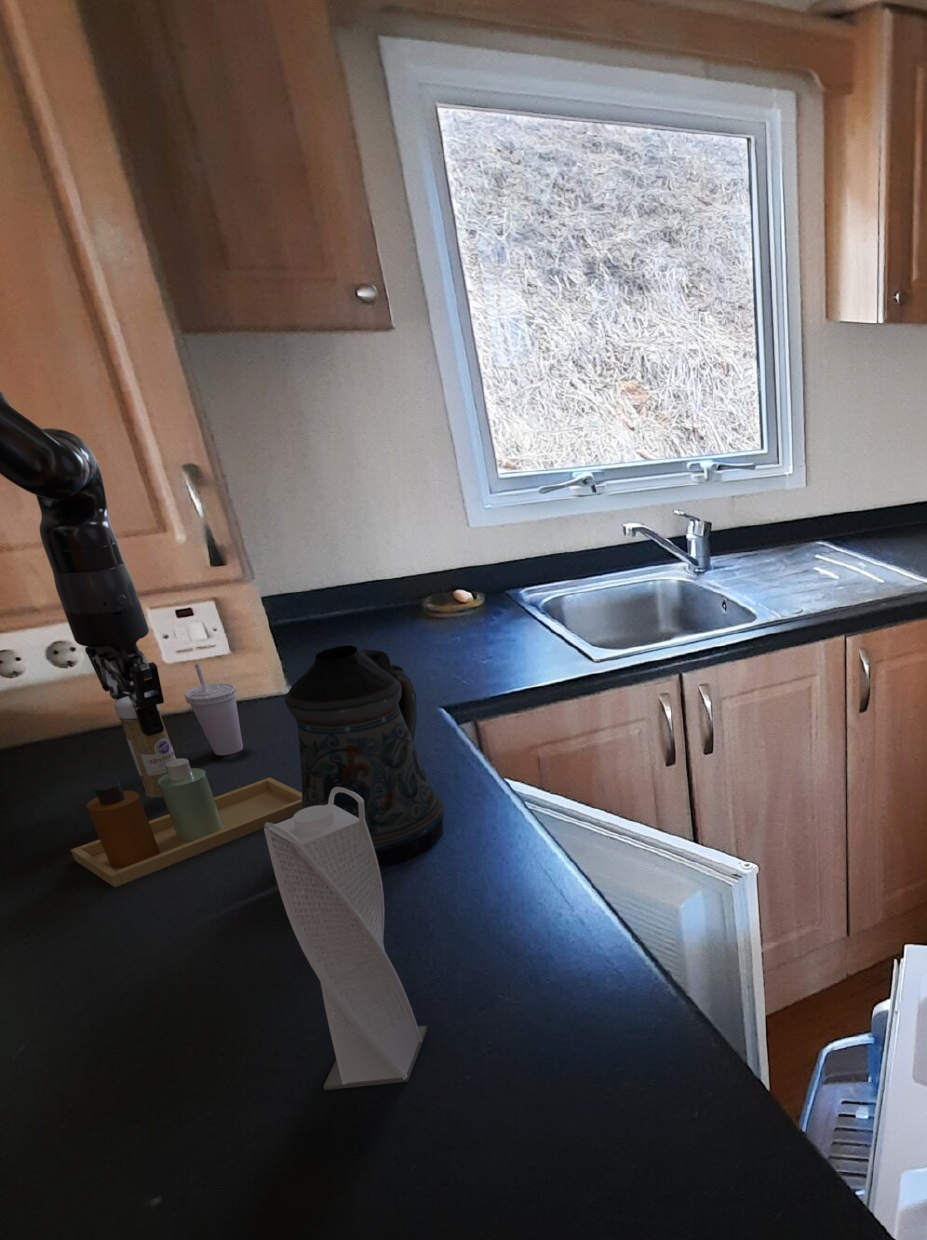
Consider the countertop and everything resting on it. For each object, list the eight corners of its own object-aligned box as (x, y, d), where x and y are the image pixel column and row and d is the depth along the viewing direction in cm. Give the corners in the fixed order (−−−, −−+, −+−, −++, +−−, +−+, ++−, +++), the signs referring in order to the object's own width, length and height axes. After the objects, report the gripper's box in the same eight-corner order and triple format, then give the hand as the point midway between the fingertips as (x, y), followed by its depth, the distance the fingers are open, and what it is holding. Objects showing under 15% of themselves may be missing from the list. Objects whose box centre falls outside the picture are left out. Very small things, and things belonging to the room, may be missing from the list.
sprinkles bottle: (173, 799, 130) (141, 705, 124) (137, 799, 130) (104, 705, 124) (193, 783, 134) (164, 692, 128) (159, 783, 134) (127, 692, 128)
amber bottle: (121, 872, 116) (91, 799, 112) (102, 860, 119) (72, 787, 114) (167, 854, 120) (140, 782, 116) (148, 843, 123) (121, 772, 118)
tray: (116, 891, 114) (110, 876, 113) (76, 864, 119) (70, 849, 118) (315, 811, 132) (311, 797, 131) (273, 790, 137) (269, 777, 136)
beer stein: (296, 884, 116) (236, 688, 105) (317, 810, 132) (266, 633, 121) (447, 859, 121) (405, 670, 110) (449, 791, 138) (413, 620, 126)
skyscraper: (443, 1027, 94) (379, 768, 82) (421, 1088, 87) (348, 815, 74) (349, 1036, 93) (270, 774, 80) (320, 1099, 86) (227, 823, 73)
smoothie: (196, 751, 147) (166, 664, 141) (241, 737, 152) (214, 652, 146) (216, 763, 144) (186, 674, 138) (261, 748, 149) (235, 661, 143)
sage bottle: (189, 846, 122) (163, 774, 118) (169, 834, 124) (144, 764, 120) (231, 829, 126) (208, 760, 121) (211, 819, 128) (188, 750, 124)
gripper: (39, 598, 120) (86, 725, 128) (92, 620, 114) (138, 752, 121) (109, 585, 126) (150, 707, 134) (163, 605, 119) (203, 732, 127)
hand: (144, 728), depth 128 cm, fingers closed on sprinkles bottle, 4 cm apart
